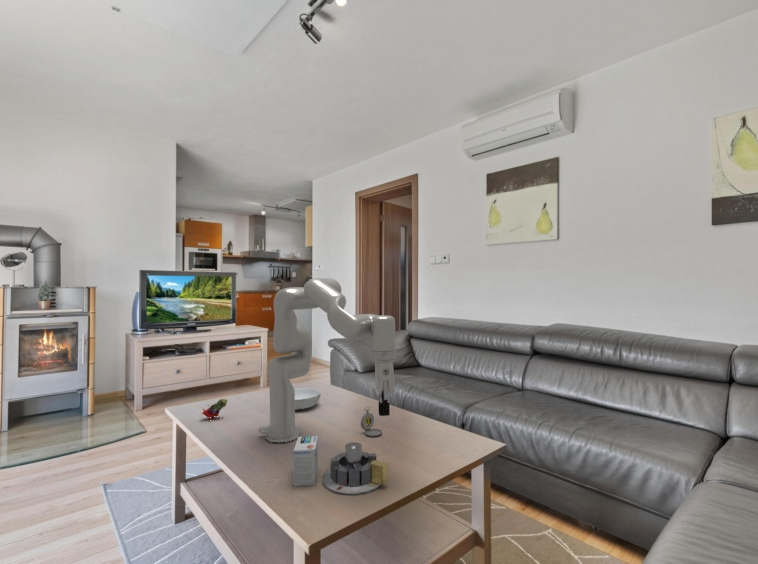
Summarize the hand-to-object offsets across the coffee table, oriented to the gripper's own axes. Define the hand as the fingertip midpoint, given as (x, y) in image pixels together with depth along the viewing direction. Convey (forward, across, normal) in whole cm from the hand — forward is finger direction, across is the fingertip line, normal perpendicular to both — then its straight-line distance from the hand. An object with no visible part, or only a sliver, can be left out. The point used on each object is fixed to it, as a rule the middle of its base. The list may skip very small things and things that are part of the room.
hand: (384, 414), depth 119 cm
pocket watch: (+19, +35, 0) cm, 40 cm away
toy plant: (+19, +63, +68) cm, 95 cm away
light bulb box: (+19, +3, +24) cm, 31 cm away
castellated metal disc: (+18, 0, +8) cm, 19 cm away
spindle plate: (+19, 0, +10) cm, 21 cm away
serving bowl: (+19, +74, +32) cm, 83 cm away
